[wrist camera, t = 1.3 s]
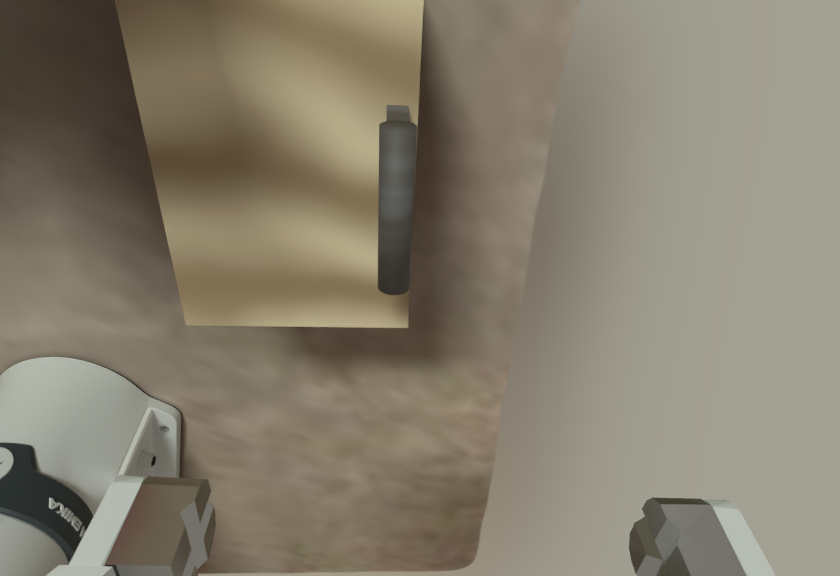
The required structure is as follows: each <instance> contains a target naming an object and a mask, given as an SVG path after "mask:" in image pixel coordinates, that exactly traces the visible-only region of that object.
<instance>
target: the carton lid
mask: <svg viewBox="0 0 840 576" xmlns="http://www.w3.org/2000/svg"><path fill="white" fill-rule="evenodd" d="M115 4H116V9H117V13H118V18H119V23H120V27H121V32H122V36H123V41H124V45H125V50H126V54H127V59H128V64H129V68H130V73H131V77H132V82H133V86H134V91H135V95H136V100H137V104H138V109H139V114H140V118H141V123H142V127H143V132H144V136H145V141H146V145H147V150H148V155H149V159H150V164H151V168H152V173H153V177H154V182H155V186H156V191H157V196H158V200H159V205H160V209H161V214H162V218H163V223H164V227H165V232H166V237H167V241H168V246H169V250H170V255H171V259H172V264H173V268H174V273H175V278H176V282H177V287H178V291H179V296H180V300H181V305H182V309H183V314H184V319H185V323H186V325H199V326H282V327H366V328H408V320H409V299H410V278H411V257H412V236H413V215H414V194H415V173H416V152H417V131H418V110H419V89H420V68H421V47H422V26H423V5H424V0H115Z"/></svg>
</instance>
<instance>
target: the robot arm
mask: <svg viewBox="0 0 840 576" xmlns="http://www.w3.org/2000/svg"><path fill="white" fill-rule="evenodd" d="M180 439H181V414H180V412H179V411H178V410H177V409H175V408H174V407H172V406H170V405H168V404H166V403H163V402H161V401H159V400H156V399H154V398H151V397H149V396H148V395H146V394H145V393H144V392H142V391H141V390H140V389H139V388H137V387H136V386H135V385H134V384H132V383H131V382H130V381H128V380H127V379H125V378H124V377H122V376H120V375H119V374H117V373H115V372H113V371H111V370H109V369H107V368H104V367H102V366H99V365H96V364H93V363H90V362H87V361H82V360H78V359H72V358H64V357H42V358H35V359H30V360H26V361H23V362H20V363H18V364H16V365H14V366H12V367H10V368H9V369H7V370H6V371H5V372H4V373H2V375H1V376H0V576H198V574H197V569H198V568H199V567H200V566H201V565H202V564H203V563H204V562H205V561H206V560H208V557H209V553H210V550H211V546H212V543H213V537H214V531H215V510H214V506H213V505H212V504H211V503H209V502H208V498H209V495H210V492H211V489H210V485H209V481H208V479H190V478H179V475H180ZM642 510H643V512H644V515H645V517H644V518H642V519H640V520H639V521H637V522H635V523H634V526H633V528H632V530H631V532H630V542H629V550H630V556H631V561H632V564H633V567H634V570H635V573H636V574H637V576H776V575H775V574H774V572H773V570H772V568H771V567H770V565H769V563H768V561H767V559H766V557H765V556H764V554H763V552H762V550H761V548H760V547H759V545H758V543H757V541H756V540H755V538H754V536H753V534H752V532H751V530H750V529H749V527H748V525H747V523H746V522H745V520H744V518H743V516H742V514H741V512H740V511H739V509H738V507H737V506H735V504H733V503H732V502H731V501H726V500H701V499H685V498H651V499H649V500H647V501H646V503H645V504H644V506H643V508H642Z"/></svg>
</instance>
